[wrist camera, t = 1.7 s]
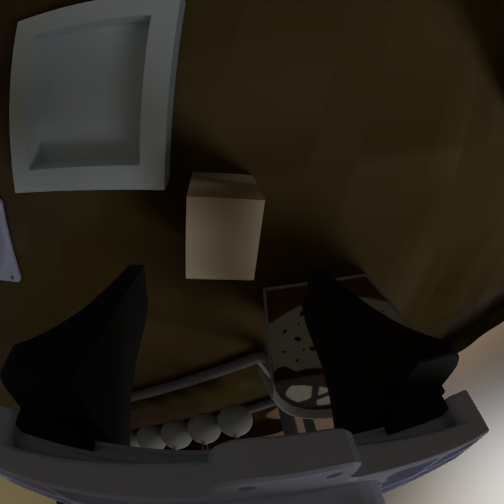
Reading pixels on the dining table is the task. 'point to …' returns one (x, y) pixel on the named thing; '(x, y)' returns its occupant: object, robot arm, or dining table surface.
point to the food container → (307, 346)
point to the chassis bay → (95, 96)
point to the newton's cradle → (203, 424)
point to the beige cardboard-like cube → (222, 226)
